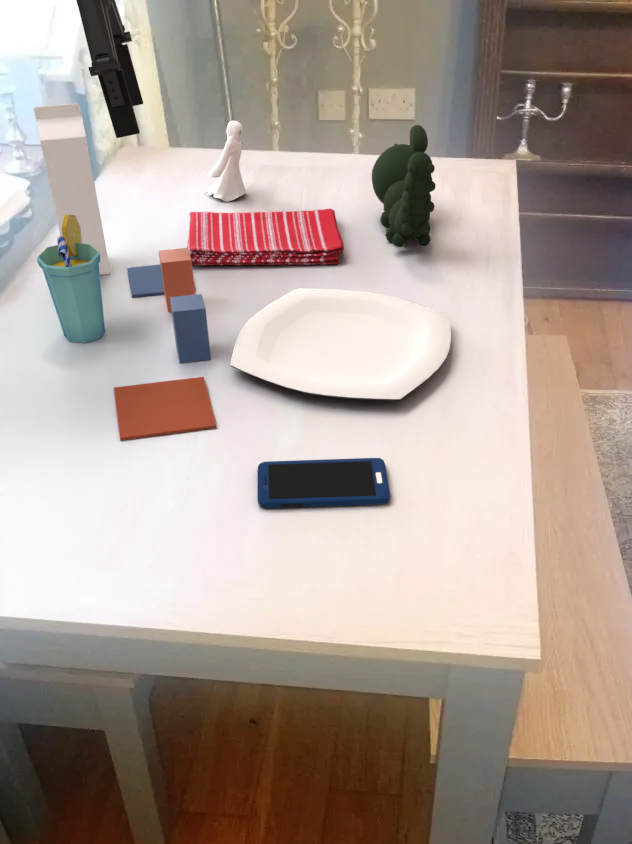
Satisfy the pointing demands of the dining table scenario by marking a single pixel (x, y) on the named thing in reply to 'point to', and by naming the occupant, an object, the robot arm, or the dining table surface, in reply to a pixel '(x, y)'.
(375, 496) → the cell phone
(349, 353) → the plate
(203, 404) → the terracotta mat
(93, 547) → the dining table surface
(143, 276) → the blue mat
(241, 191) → the figurine
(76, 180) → the milk
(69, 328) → the cup
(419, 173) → the toy figurine
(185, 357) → the blue block
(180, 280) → the terracotta block
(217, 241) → the dish towel
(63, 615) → the dining table surface
